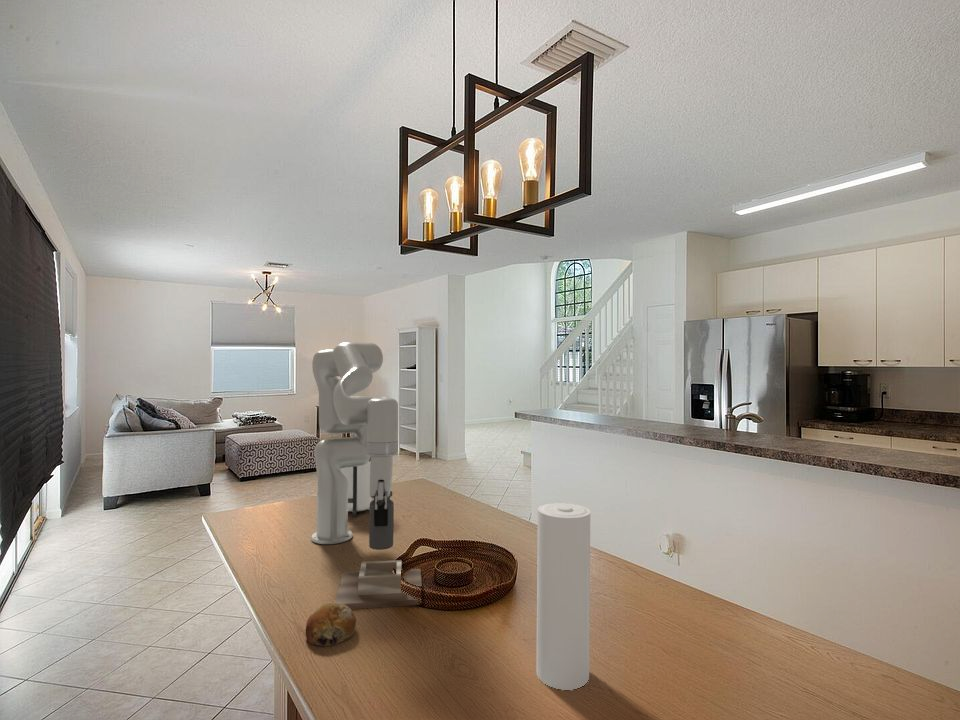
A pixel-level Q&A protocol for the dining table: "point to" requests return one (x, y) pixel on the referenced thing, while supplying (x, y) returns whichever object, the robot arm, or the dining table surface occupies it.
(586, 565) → the cylinder container
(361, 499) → the coffee press
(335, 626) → the bread roll
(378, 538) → the bottle
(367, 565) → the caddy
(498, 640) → the dining table surface
